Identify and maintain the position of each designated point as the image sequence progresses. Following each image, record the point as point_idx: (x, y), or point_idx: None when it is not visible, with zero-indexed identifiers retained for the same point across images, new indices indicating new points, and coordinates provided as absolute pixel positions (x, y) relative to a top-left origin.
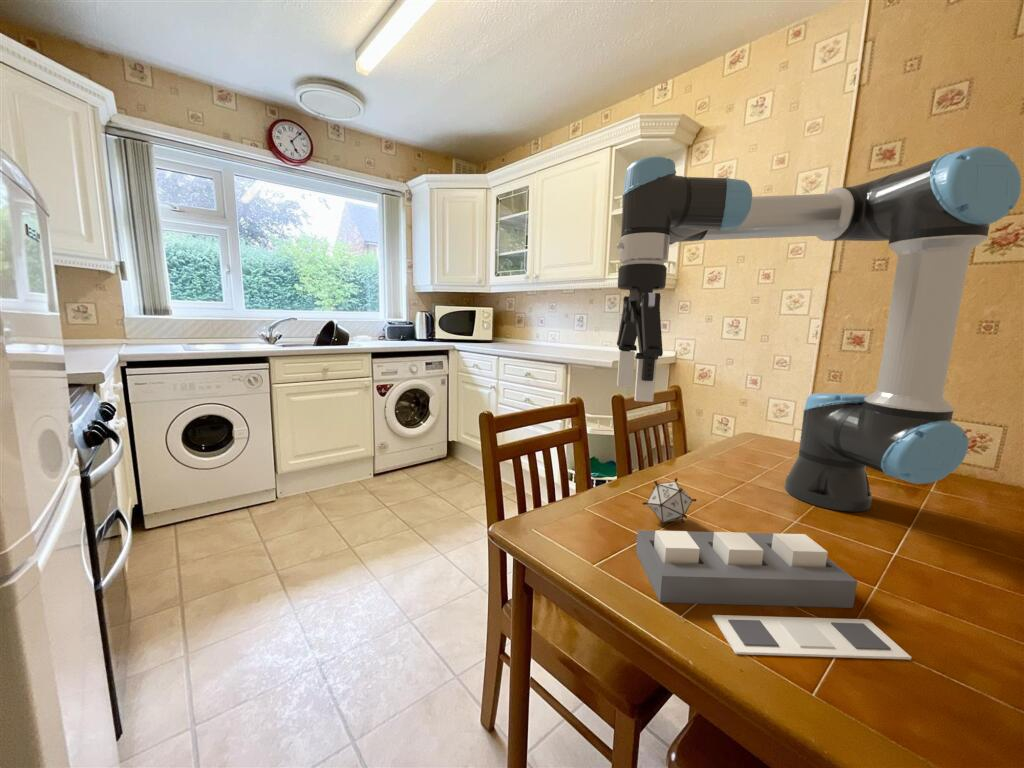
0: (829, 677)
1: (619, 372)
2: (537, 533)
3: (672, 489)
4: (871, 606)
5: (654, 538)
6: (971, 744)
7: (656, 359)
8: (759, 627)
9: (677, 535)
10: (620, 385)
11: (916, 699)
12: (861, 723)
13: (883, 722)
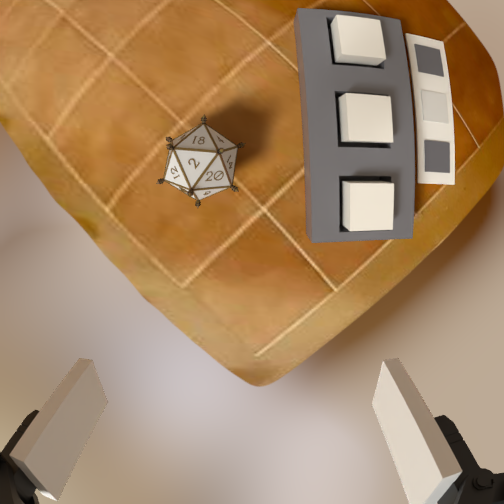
0: (466, 122)
1: (88, 435)
2: (266, 350)
3: (211, 164)
4: (380, 12)
5: (334, 223)
6: (493, 77)
7: (478, 470)
8: (432, 146)
9: (363, 202)
10: (104, 396)
11: (473, 76)
12: (492, 131)
13: (490, 116)
